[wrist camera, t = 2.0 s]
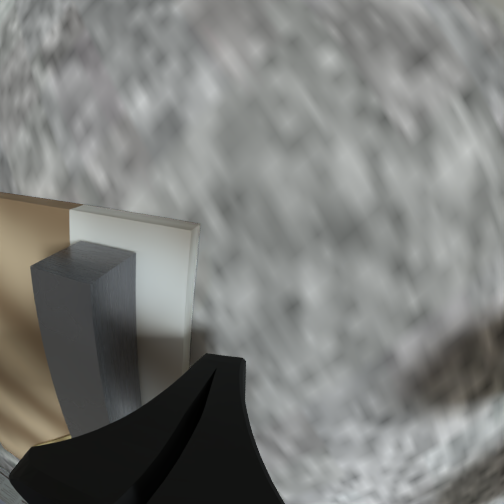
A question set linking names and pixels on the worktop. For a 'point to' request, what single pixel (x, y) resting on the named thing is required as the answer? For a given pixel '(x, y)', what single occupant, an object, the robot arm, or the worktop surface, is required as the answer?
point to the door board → (147, 304)
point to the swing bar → (89, 332)
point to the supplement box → (8, 490)
